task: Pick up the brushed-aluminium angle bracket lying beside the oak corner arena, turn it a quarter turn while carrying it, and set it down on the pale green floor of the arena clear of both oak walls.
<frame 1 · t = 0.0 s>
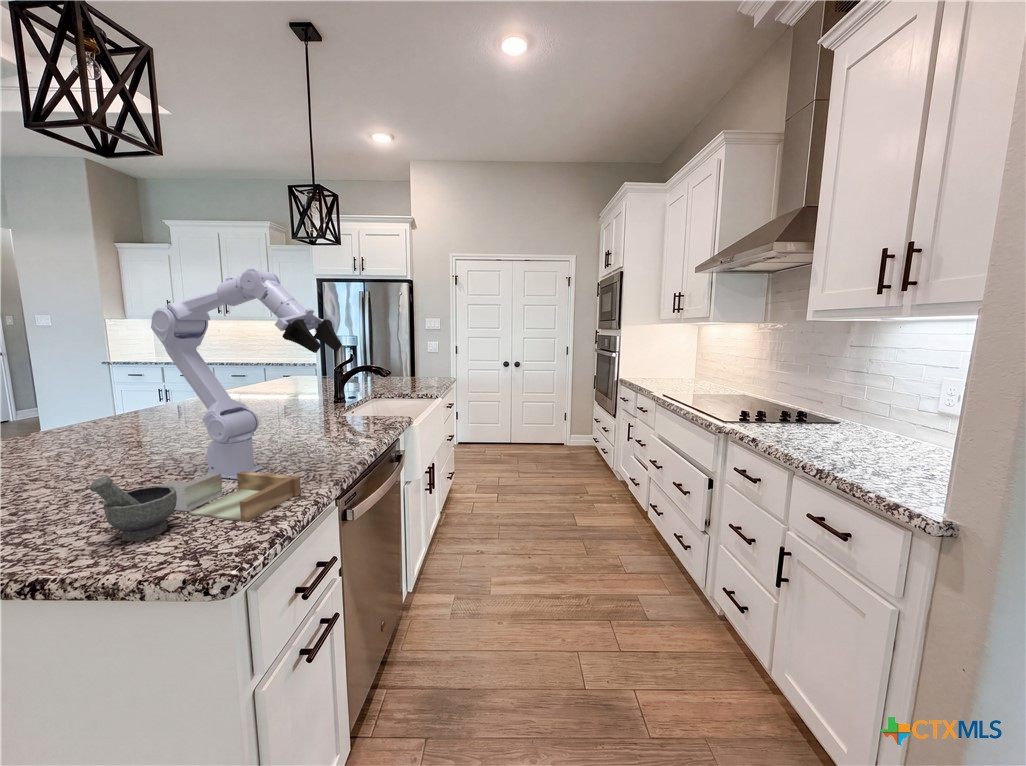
hand: (328, 348, 92), 32 cm above the countertop, tool tilted 50°, fingers open, 7 cm apart
bracket: (200, 502, 85), on the countertop
arena: (241, 504, 84), on the countertop
mortar and pestle: (140, 535, 72), on the countertop
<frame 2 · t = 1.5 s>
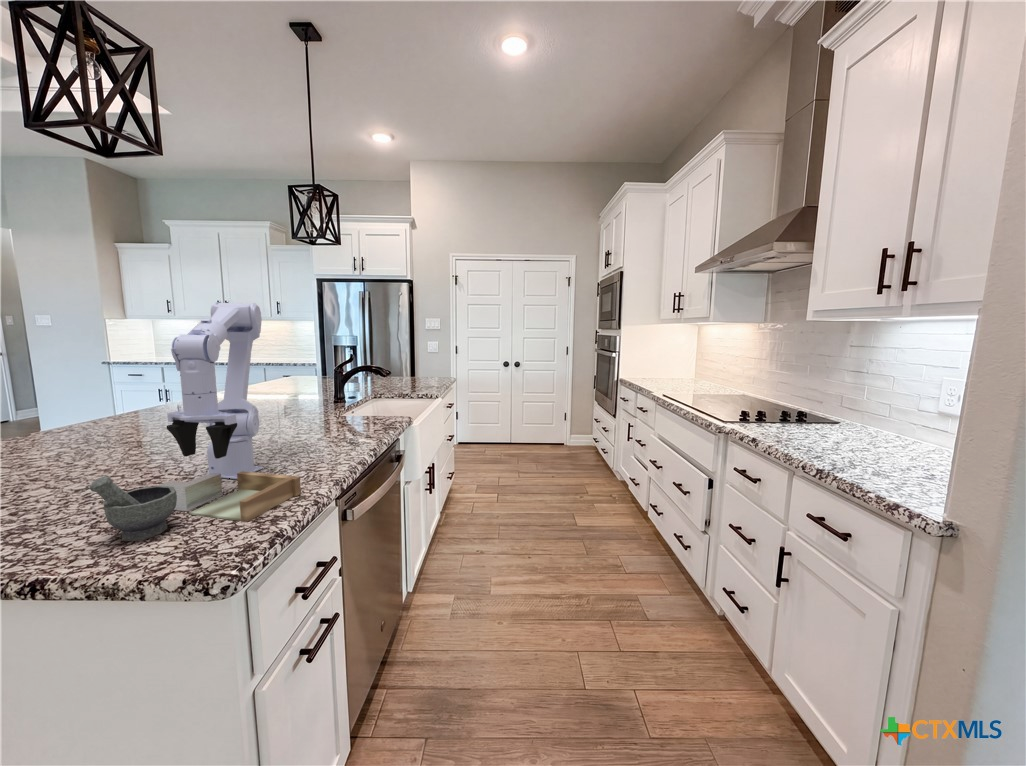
hand: (205, 456, 85), 10 cm above the countertop, tool pointing down, fingers open, 7 cm apart
nothing on the countertop moved.
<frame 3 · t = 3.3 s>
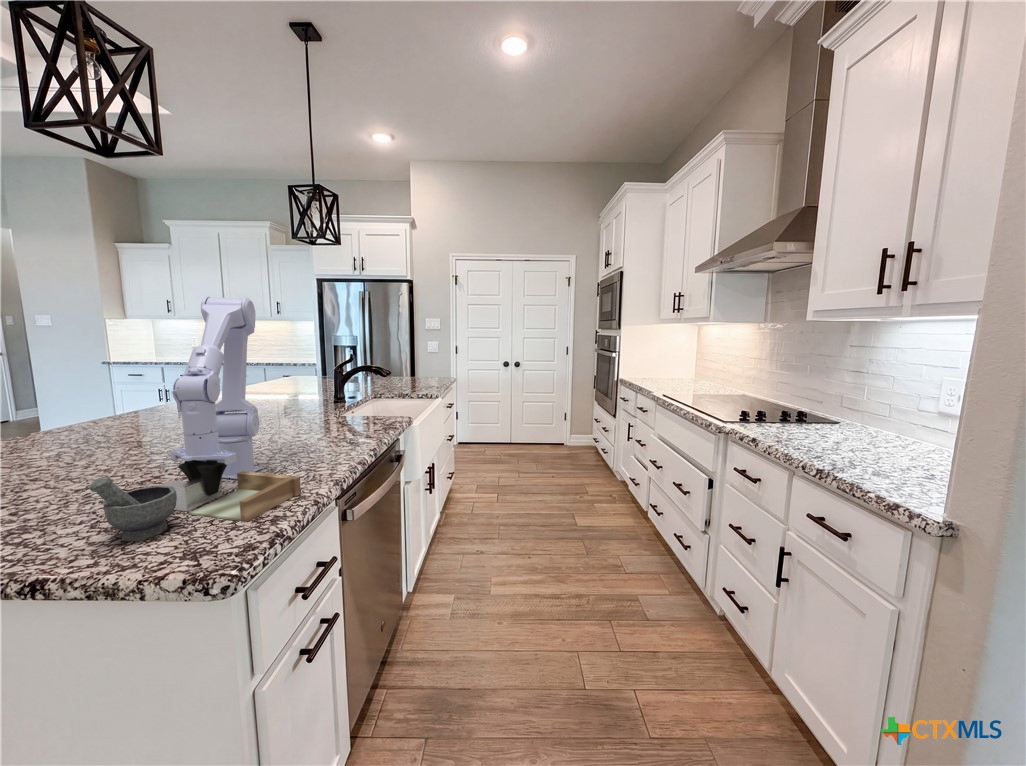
hand: (206, 493, 86), 1 cm above the countertop, tool pointing down, fingers closed on bracket, 2 cm apart
bracket: (200, 502, 85), on the countertop, touching gripper
everything else where it was.
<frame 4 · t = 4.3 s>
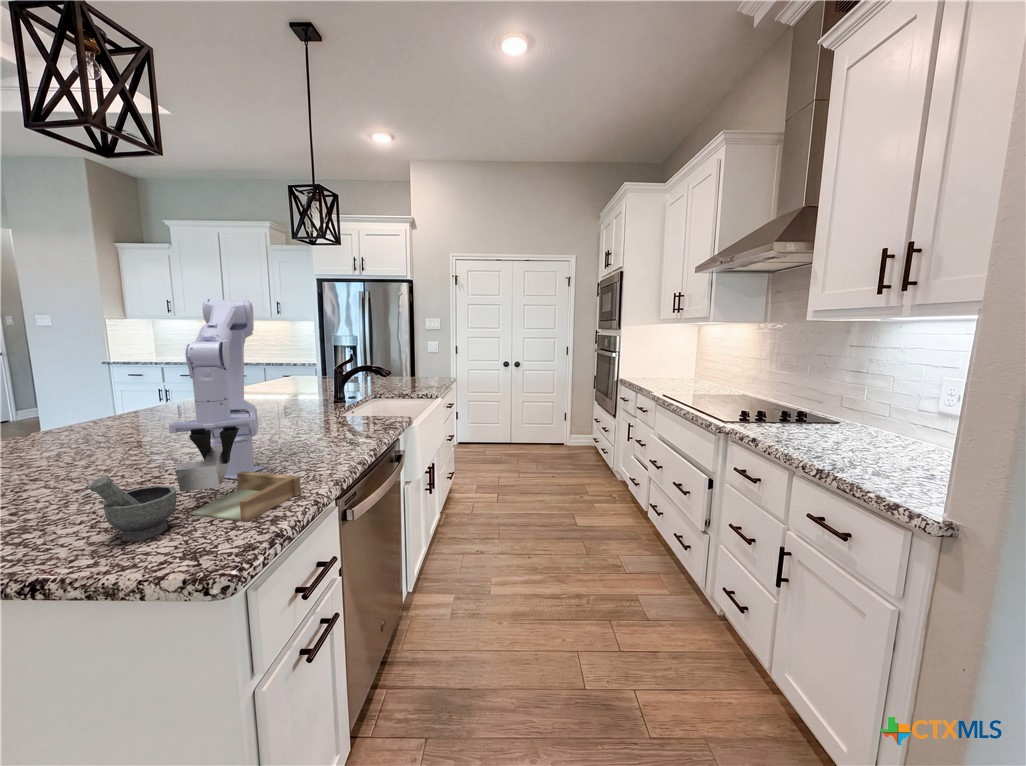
hand: (217, 463, 84), 8 cm above the countertop, tool pointing down, fingers closed on bracket, 2 cm apart
bracket: (217, 476, 84), point 6 cm above the countertop, tilted 14°, touching gripper
everything else where it was.
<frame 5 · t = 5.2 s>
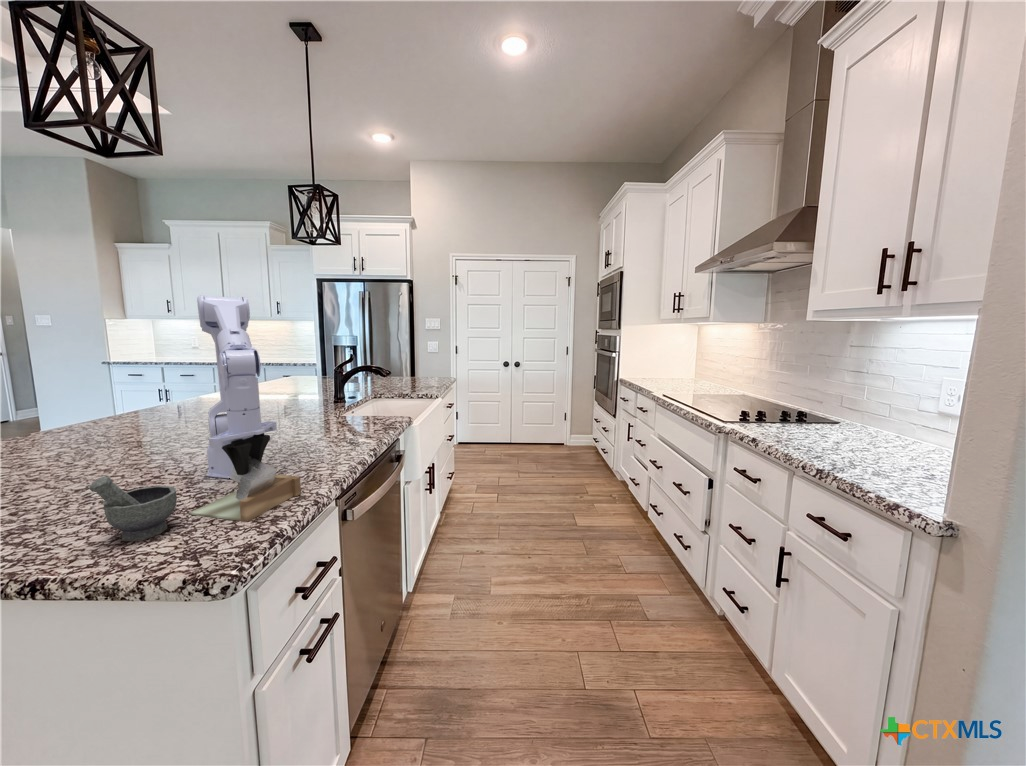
hand: (248, 472, 84), 7 cm above the countertop, tool pointing down, fingers closed on bracket, 2 cm apart
bracket: (250, 484, 84), point 4 cm above the countertop, tilted 21°, touching arena, gripper
everything else where it was.
when the fingers open (3 cm above the countertop, at t = 6.0 s): bracket stays where it is, resting on arena.
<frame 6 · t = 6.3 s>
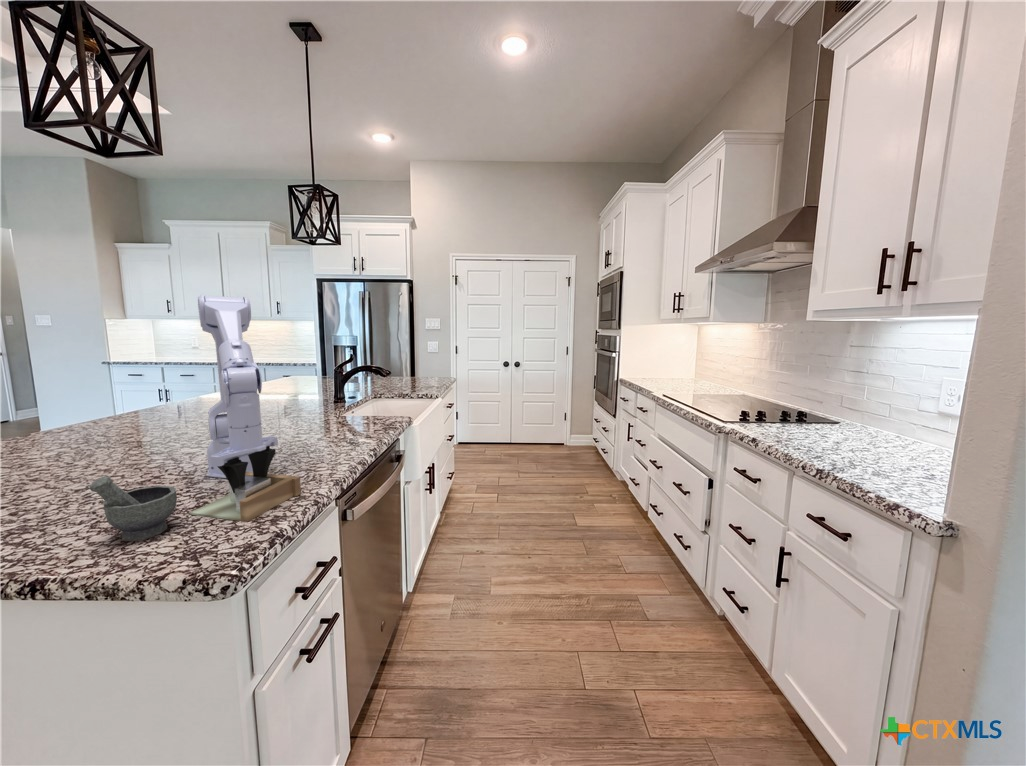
hand: (249, 487, 84), 3 cm above the countertop, tool pointing down, fingers open, 5 cm apart
bracket: (251, 501, 85), resting on arena
everything else where it was.
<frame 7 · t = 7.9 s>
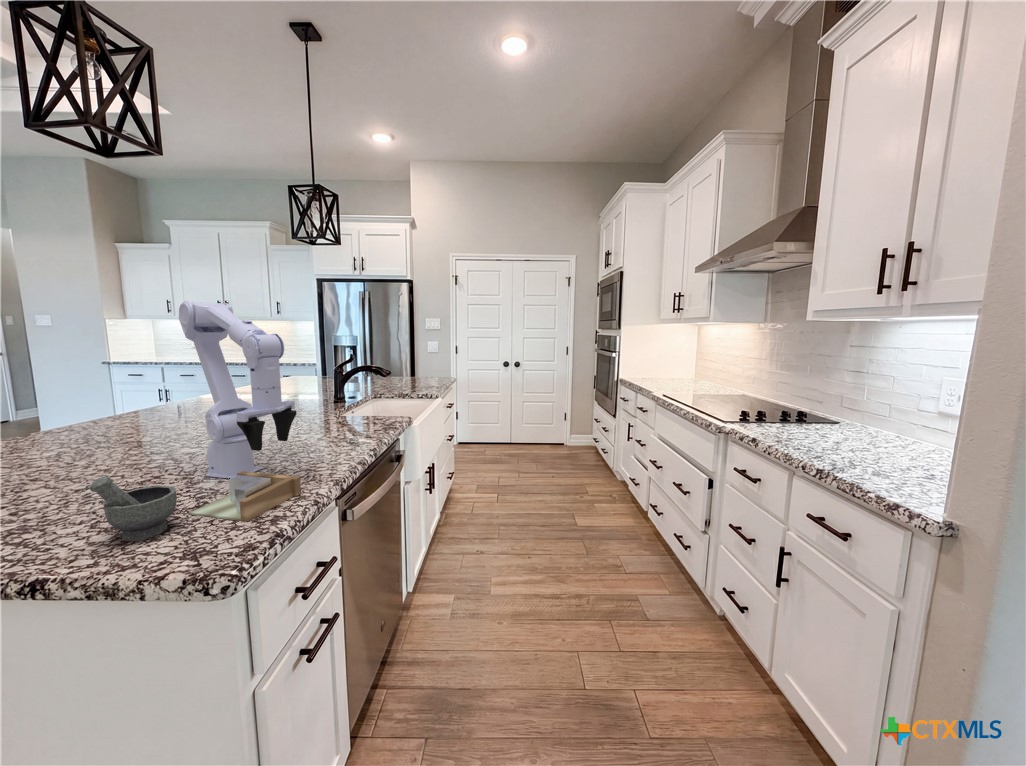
hand: (270, 445, 93), 10 cm above the countertop, tool pointing down, fingers open, 7 cm apart
nothing on the countertop moved.
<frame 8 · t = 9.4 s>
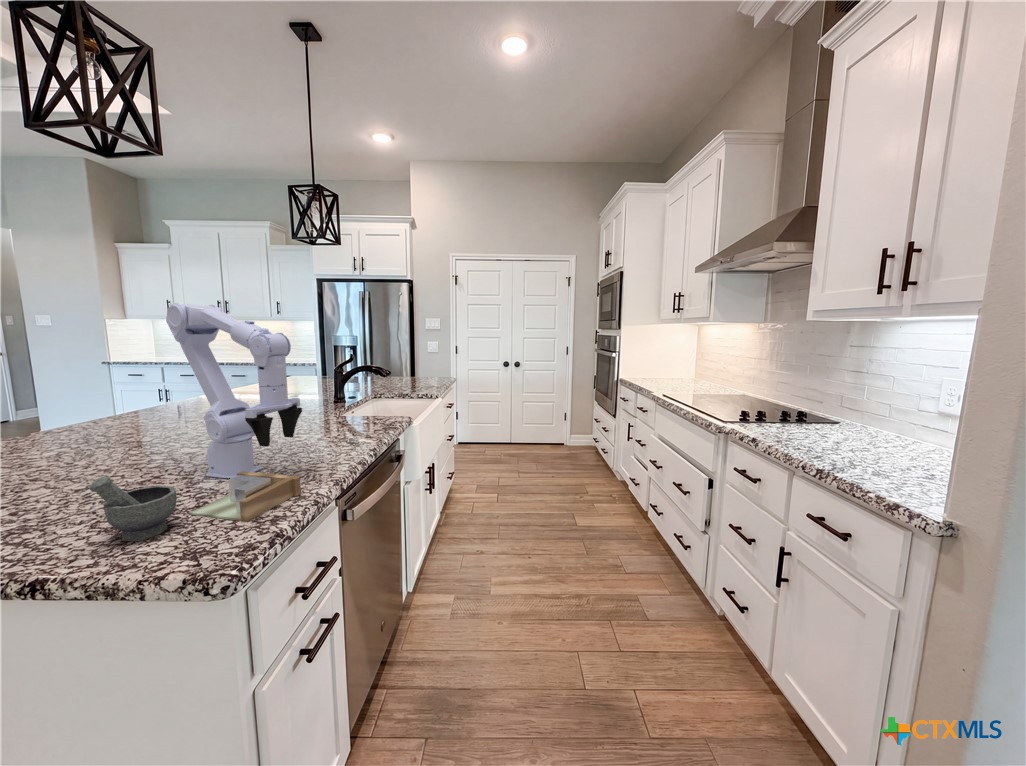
hand: (277, 441, 96), 10 cm above the countertop, tool pointing down, fingers open, 7 cm apart
nothing on the countertop moved.
at the end: bracket inside the target area on the arena (2.4 cm from its centre), point 0.4 cm above the arena's base; bracket tilted 0°; the gripper is holding nothing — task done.
